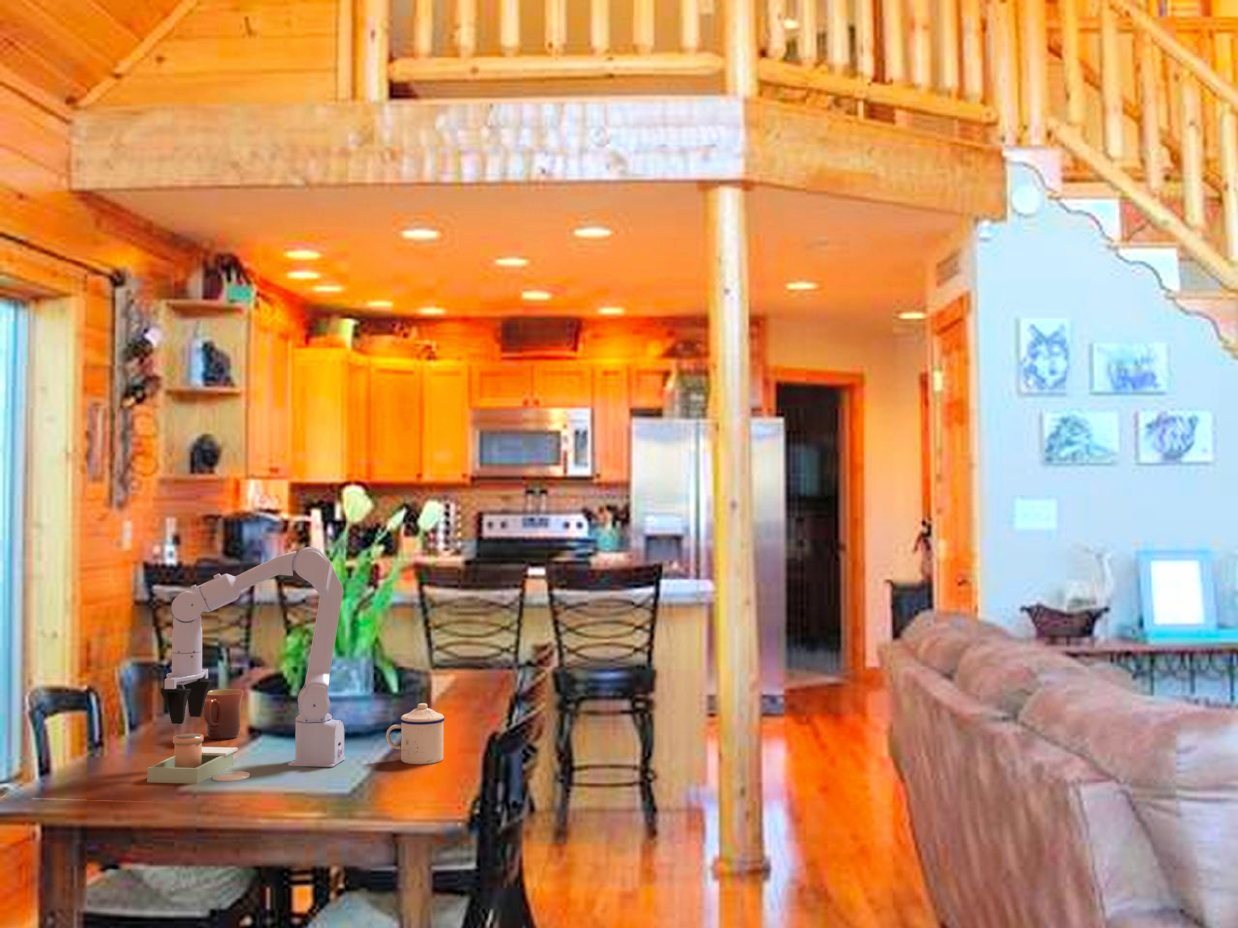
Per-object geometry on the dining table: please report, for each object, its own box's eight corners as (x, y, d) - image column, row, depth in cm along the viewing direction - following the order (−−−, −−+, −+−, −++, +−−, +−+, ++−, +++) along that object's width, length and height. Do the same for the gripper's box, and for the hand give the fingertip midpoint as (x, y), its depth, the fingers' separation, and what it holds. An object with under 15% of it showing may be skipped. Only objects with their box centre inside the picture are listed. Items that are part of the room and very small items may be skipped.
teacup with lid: (446, 755, 261) (447, 700, 261) (441, 765, 252) (441, 707, 252) (389, 755, 260) (390, 700, 261) (382, 765, 251) (382, 707, 252)
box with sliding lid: (237, 765, 251) (237, 747, 252) (198, 785, 234) (199, 766, 234) (187, 763, 253) (187, 746, 253) (145, 783, 235) (145, 765, 235)
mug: (215, 733, 285) (216, 688, 285) (250, 734, 283) (250, 689, 284) (187, 743, 273) (187, 696, 274) (223, 745, 272) (224, 698, 272)
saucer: (255, 774, 243) (255, 771, 243) (240, 783, 236) (240, 779, 236) (221, 773, 243) (221, 770, 243) (205, 782, 236) (205, 778, 237)
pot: (208, 772, 244) (208, 733, 244) (195, 778, 238) (195, 739, 238) (180, 771, 244) (181, 733, 244) (167, 777, 239) (167, 738, 239)
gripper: (185, 647, 255) (184, 713, 255) (150, 656, 241) (149, 726, 240) (217, 647, 254) (217, 713, 254) (184, 656, 240) (183, 727, 239)
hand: (186, 720), depth 247 cm, fingers open, 7 cm apart
